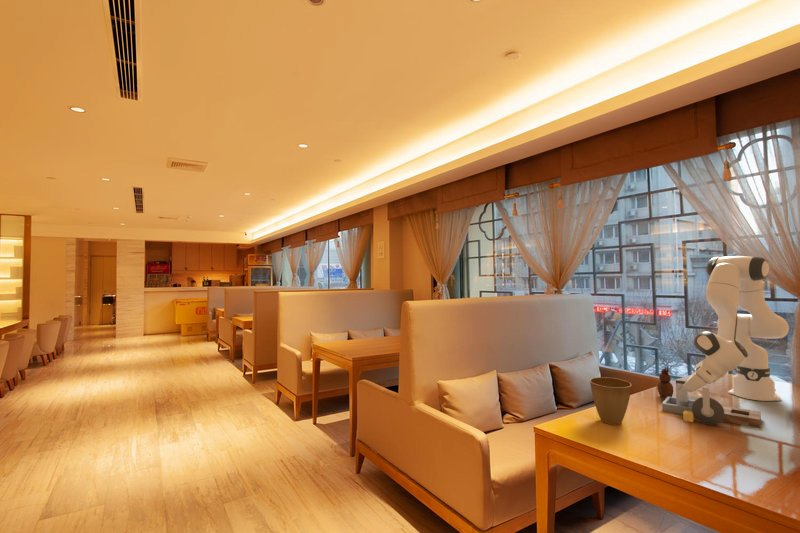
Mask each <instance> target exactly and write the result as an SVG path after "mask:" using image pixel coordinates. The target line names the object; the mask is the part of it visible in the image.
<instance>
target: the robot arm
mask: <svg viewBox="0 0 800 533" xmlns="http://www.w3.org/2000/svg"><path fill="white" fill-rule="evenodd" d="M769 271H770V266H769V262H768V260H767V259H766V258H764V257H761V256H745V255H735V256H715V257H711V259H709V260H708V261H707V264H706V272H707V274H708V276H709V278H708V282H707V285H706V290H705V299H706V301H707V303H708V304H709V305H710V306H711V308H712V309H713V310H714V312H715V313H716V316H717V318H718V319H717V321H716V324H717V325H716V326H717V333H714V332H711V331H705V330H704V331H701V332H699V333H698V334H697V335H695V337H694V339H693V345H694V347H695V348H696V350H697V351H698V352H700V353H701V354H703V355H705V358H704V359H702V360H701V361H699V363H696V365H695V369H694V373H692V374H691V375H690V376H689V377H688V379H686V380H687V381H686V382H685V384H684V385H683V387H682V388H681V389H680V390H678V391H677V393H678V394H679V395H682V394H683V393H685V392H687V391H688V392H693V391H695V390H698V389H700V388H701V389H702V387H703V386H704V387H705V386H706V385H707V384H708V385H710V384H714V383H716V382H717V381H720V380H721V379H722V378H723V377H725V376H726V375H727V373H729V372H731V371H733V370H736V374H735V375H734V376H732V388H731V389H729V390H728V391H727V392H728V394H730V395H735V396H737V397H739V398H743V399H749V400H755V401H760V402H762V401H764V402H771V401H773V402H774V401H782V398H781V396H779V395H778V394H777V393H776V391H777V390H776V385H775V384H776V383H775V381H774V380H773V379H772V378H771V377H770V376H771V369H770V368H769V353H768V351H767V349H765V348H764V347H763V346H760V345H758V344H756V343H754V342H753V341H752V339H751V338H754V339H766V340H767V339H769V340H772V339H783V338H785V337H786V336H787V335H788V334H789V331H790V326H789V323H788V321H787V320H786V319H785V318H783V317H782V316H780V315H778V314H777V313H775V312H774V311H773V310H772V309H771V308H770V307H769V306H768V304H767V302H766V298H765V293H764V286H763V285H764V284H763V280H764V279H765V278H767V277H768V275H769ZM738 308H739V309H742V310H744V311H746V312H748V313H739V312H738Z"/></svg>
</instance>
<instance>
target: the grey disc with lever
mask: <svg viewBox="0 0 800 533" xmlns="http://www.w3.org/2000/svg"><path fill="white" fill-rule="evenodd" d="M701 390H702V392H701V393H702V396H701V398H698V399H697V400H695V402H694V403H693V405H692V412H691V411H684V412H683V414H682V415H683V416H682V418H683V420H682V421H685V422H688V423H689V422H690V423H694V422H695V420H698V421H699V422H700V423H702V424H704V425H710V426H714V425H718V424H720V423H721V422H723V421H722V420H723V417H724V409H723V407H722V406H723V405H722V404H721V403H720V402H719V401H718V400H716V399H714V398H712V397H711V396H710V387H709V386H705V385H704V386H702V387H701Z"/></svg>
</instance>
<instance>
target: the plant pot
mask: <svg viewBox="0 0 800 533" xmlns="http://www.w3.org/2000/svg"><path fill="white" fill-rule="evenodd" d="M589 385H590V388H591V389H590V390H591V395H592V398H593V402H594V405H595V409H596V411H597V414H598V416H599V419H600V421H601V423H604V424H606V425H611V426H619V425H621V424H622V423H623V420H624V418H625V416H626V413H627V410H628V406H629V402H630V398H631V392H632V383H631V382H629V381H627V380H624V379H620V378H616V377H608V376H607V377H606V376H603V377H601V376H599V377H593V378H590V379H589Z"/></svg>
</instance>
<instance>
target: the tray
mask: <svg viewBox="0 0 800 533" xmlns="http://www.w3.org/2000/svg"><path fill="white" fill-rule="evenodd" d="M694 402H695V401H694V400H689V407H685V406H679V405H676V396H675V397H674V396H672V397H669V396H668V397H667V398H664V400H663V401H662V403H661V411H664V412H668V413H676V414H679V415H683V412H684V411H691V412H692V405H693V403H694Z"/></svg>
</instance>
